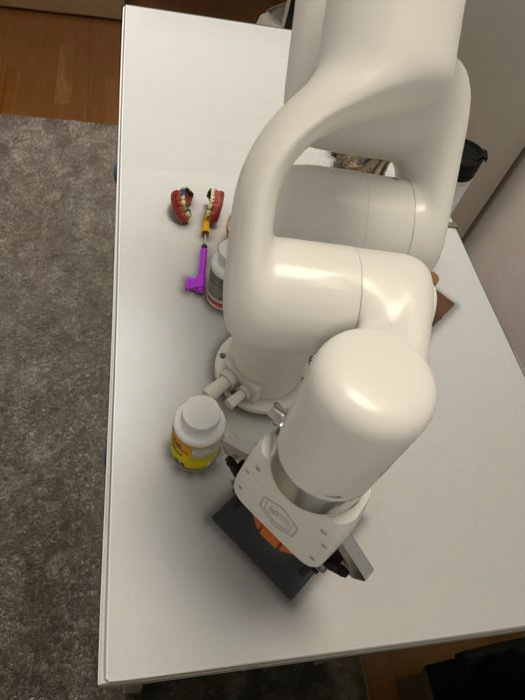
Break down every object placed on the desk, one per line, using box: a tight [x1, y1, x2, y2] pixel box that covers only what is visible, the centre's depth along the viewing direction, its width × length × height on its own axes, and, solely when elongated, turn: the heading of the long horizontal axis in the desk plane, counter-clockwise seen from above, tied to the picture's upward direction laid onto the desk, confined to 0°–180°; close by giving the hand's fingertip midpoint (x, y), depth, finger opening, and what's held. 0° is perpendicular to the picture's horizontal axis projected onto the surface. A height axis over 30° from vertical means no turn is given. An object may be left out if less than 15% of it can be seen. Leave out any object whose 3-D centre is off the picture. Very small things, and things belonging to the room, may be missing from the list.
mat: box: [211, 495, 315, 601], centre depth 62 cm, size 12×12×1 cm
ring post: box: [431, 270, 455, 328], centre depth 82 cm, size 9×9×6 cm
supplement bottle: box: [170, 394, 227, 472], centre depth 61 cm, size 6×6×10 cm
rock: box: [333, 153, 391, 176], centre depth 96 cm, size 9×9×6 cm
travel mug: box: [451, 138, 489, 215], centre depth 82 cm, size 6×7×20 cm
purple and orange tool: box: [185, 215, 211, 295], centre depth 81 cm, size 3×1×16 cm
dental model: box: [170, 185, 225, 225], centre depth 84 cm, size 6×4×8 cm
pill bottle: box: [205, 238, 228, 312], centre depth 74 cm, size 5×5×10 cm
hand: (275, 529), depth 54 cm, fingers closed on ring, 8 cm apart
